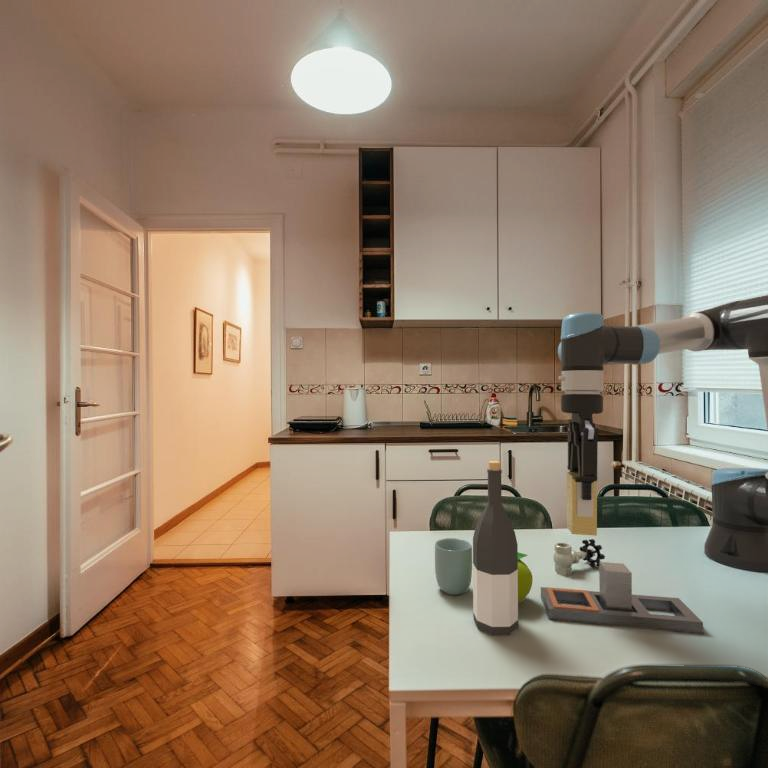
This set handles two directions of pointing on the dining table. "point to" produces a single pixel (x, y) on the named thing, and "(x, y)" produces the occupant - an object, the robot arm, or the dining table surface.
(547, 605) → the grey compartment tray
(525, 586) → the fruit
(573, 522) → the brass block
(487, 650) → the dining table surface
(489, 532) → the wine bottle
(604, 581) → the grey rectangular block
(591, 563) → the valve
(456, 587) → the cup
